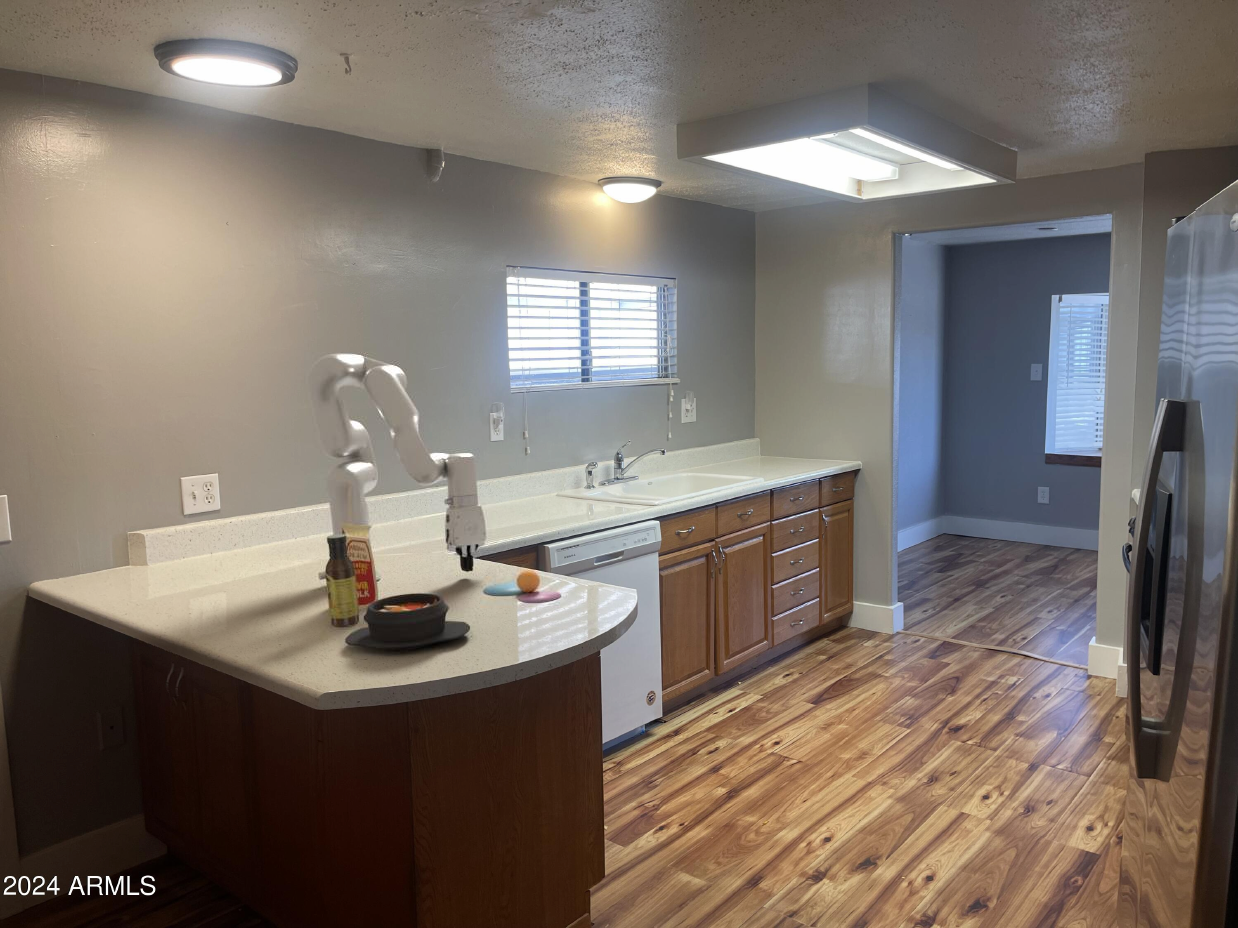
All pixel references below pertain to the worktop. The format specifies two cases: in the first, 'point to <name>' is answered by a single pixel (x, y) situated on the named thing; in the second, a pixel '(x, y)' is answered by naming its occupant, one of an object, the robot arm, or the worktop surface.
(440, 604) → the casserole
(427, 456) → the robot arm
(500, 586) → the disc
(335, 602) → the sauce bottle
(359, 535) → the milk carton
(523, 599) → the disc
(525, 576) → the ball
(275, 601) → the worktop surface
